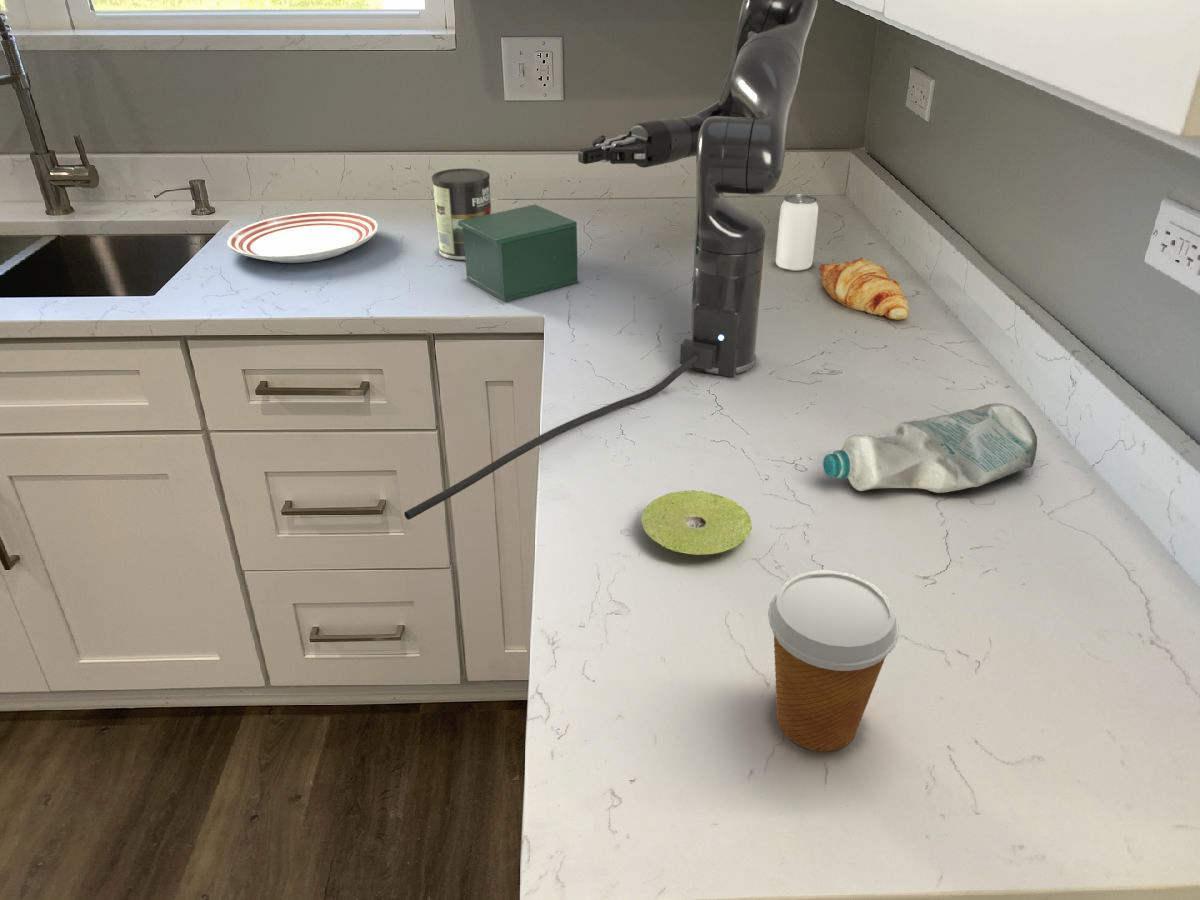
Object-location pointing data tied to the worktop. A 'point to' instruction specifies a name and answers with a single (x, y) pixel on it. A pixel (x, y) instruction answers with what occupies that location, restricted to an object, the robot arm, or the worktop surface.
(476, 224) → the lid
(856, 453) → the crushed plastic bottle
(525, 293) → the caddy
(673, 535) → the green disc
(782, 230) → the can
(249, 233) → the dinner plate
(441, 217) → the coffee can
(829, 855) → the worktop surface
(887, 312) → the croissant
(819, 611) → the disposable coffee cup
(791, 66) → the robot arm
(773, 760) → the worktop surface
